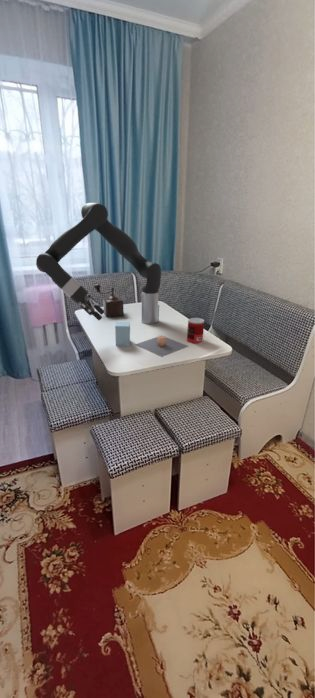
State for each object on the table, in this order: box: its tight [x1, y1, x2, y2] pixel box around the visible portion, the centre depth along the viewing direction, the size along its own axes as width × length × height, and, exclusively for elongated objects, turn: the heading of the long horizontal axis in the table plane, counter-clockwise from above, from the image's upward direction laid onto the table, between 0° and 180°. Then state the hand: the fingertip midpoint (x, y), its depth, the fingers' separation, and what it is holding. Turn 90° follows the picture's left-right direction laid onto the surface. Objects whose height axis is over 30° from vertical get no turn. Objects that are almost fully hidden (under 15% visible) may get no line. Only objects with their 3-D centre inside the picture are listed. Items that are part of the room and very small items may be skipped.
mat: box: [135, 336, 189, 358], centre depth 150 cm, size 18×18×1 cm
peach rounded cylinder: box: [157, 335, 167, 347], centre depth 149 cm, size 4×4×4 cm
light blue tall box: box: [114, 321, 131, 347], centre depth 150 cm, size 6×6×10 cm
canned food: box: [186, 317, 205, 344], centre depth 155 cm, size 8×8×11 cm
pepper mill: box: [93, 283, 124, 318], centre depth 189 cm, size 16×11×18 cm
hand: (102, 315), depth 146 cm, fingers open, 8 cm apart
